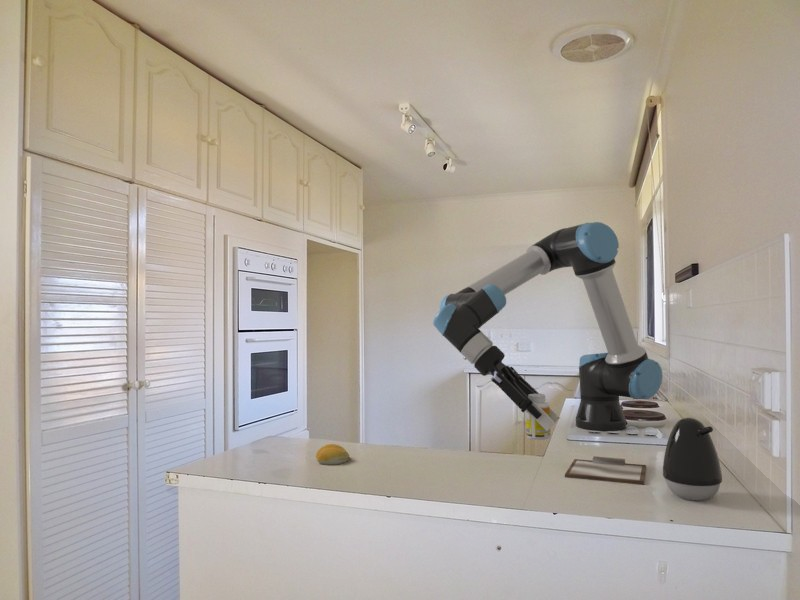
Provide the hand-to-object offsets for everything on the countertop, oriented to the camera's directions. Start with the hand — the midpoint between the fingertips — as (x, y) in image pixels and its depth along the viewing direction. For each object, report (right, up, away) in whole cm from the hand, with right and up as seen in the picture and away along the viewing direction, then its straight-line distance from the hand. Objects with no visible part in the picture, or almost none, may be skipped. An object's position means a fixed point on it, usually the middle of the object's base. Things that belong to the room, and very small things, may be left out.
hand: (553, 424), depth 132 cm
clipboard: (+11, -10, -5) cm, 15 cm away
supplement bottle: (-3, -4, +1) cm, 5 cm away
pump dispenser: (+21, -9, -23) cm, 33 cm away
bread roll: (-54, -12, +12) cm, 56 cm away
